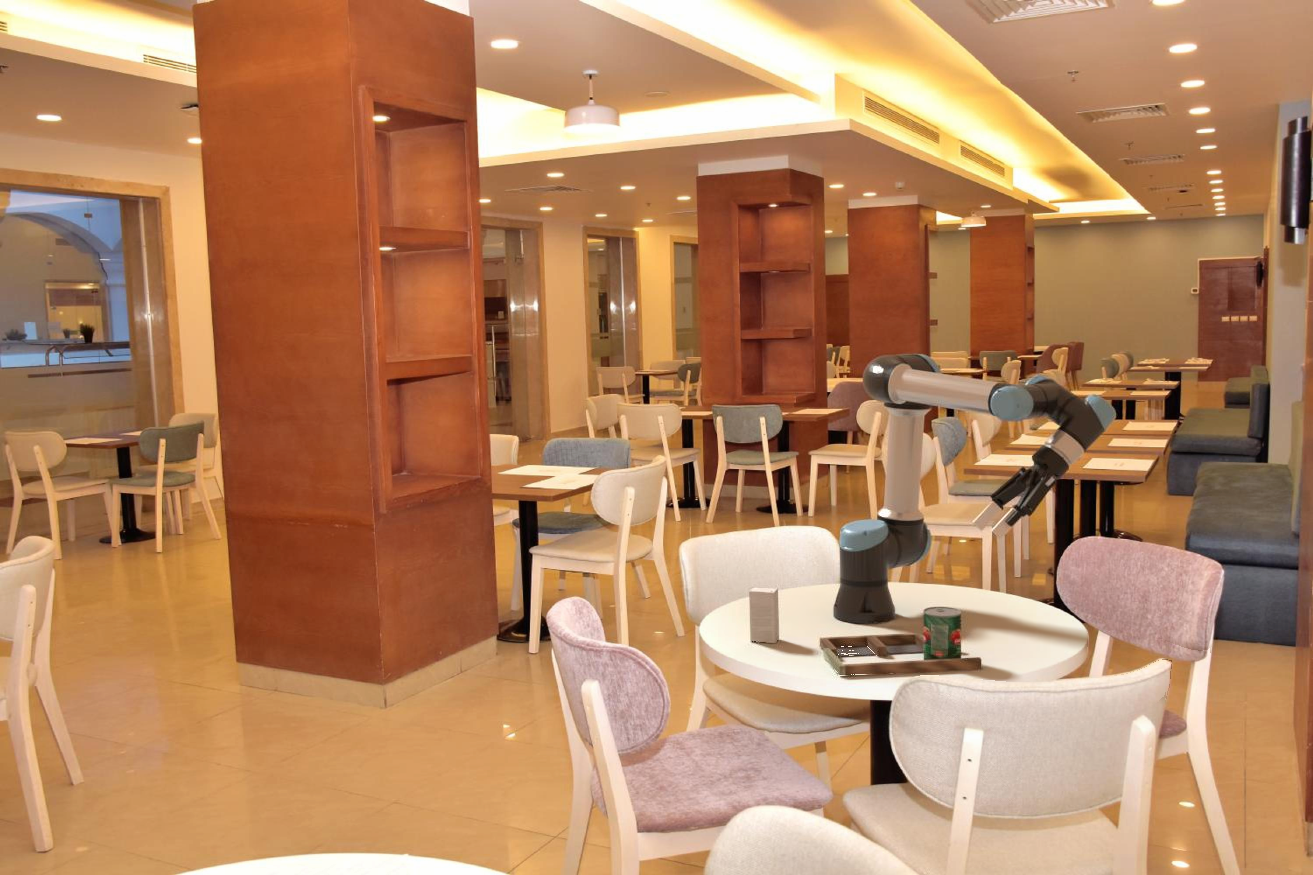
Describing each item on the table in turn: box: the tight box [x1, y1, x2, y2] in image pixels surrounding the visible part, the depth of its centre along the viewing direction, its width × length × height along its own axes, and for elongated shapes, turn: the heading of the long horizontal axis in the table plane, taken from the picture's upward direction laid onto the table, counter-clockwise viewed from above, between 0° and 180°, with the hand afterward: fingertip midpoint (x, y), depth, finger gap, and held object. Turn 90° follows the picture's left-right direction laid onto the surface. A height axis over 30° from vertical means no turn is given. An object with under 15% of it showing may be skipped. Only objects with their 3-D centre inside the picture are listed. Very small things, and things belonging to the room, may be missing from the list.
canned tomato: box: [922, 606, 962, 660], centre depth 238 cm, size 8×8×11 cm
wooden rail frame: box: [819, 632, 982, 675], centre depth 242 cm, size 30×22×2 cm
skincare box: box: [748, 587, 780, 644], centre depth 257 cm, size 6×4×12 cm
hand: (986, 530), depth 242 cm, fingers open, 10 cm apart
